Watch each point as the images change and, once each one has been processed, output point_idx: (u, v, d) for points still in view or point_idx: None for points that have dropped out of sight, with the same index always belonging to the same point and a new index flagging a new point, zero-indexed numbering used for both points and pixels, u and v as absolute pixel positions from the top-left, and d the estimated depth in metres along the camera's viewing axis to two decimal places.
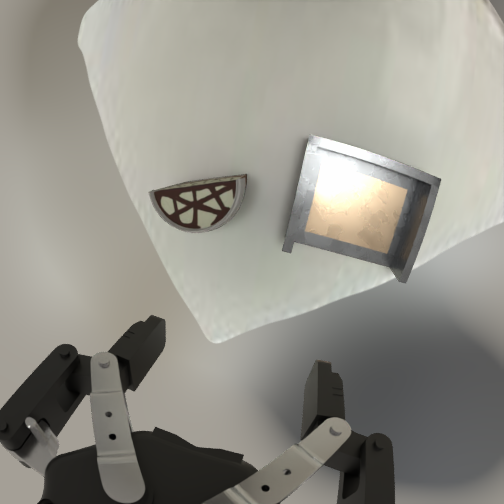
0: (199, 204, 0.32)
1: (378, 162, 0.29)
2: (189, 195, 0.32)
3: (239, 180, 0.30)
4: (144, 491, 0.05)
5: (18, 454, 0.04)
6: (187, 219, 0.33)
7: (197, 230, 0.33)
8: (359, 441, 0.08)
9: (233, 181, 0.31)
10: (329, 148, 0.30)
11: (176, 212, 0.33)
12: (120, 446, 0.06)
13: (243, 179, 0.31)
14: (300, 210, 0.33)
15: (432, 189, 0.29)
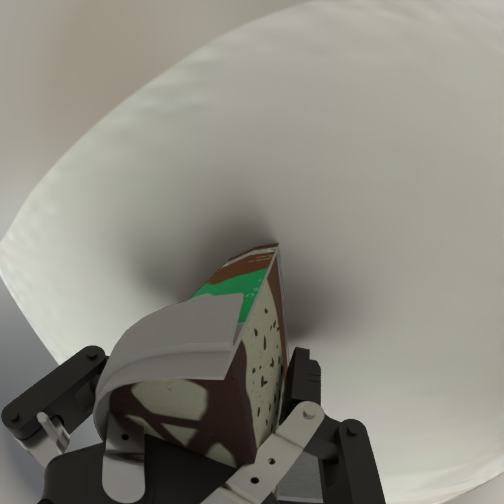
0: None
1: None
2: None
3: None
4: (143, 495, 0.04)
5: (24, 444, 0.05)
6: None
7: None
8: (334, 426, 0.09)
9: None
10: None
11: (149, 415, 0.07)
12: (130, 447, 0.06)
13: None
14: None
15: None
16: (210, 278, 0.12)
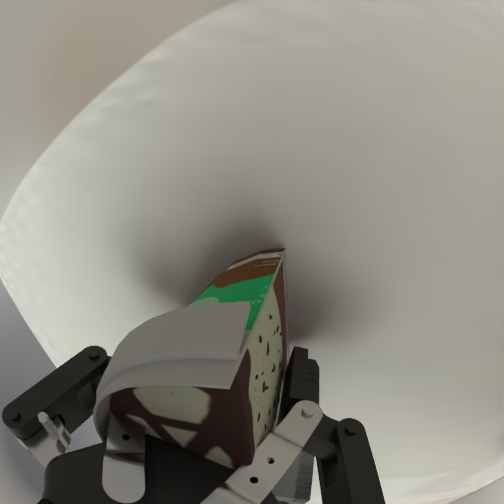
0: None
1: None
2: None
3: None
4: (143, 495, 0.04)
5: (25, 443, 0.05)
6: None
7: None
8: (332, 426, 0.09)
9: None
10: None
11: (149, 416, 0.07)
12: (131, 447, 0.06)
13: None
14: None
15: None
16: (215, 280, 0.12)
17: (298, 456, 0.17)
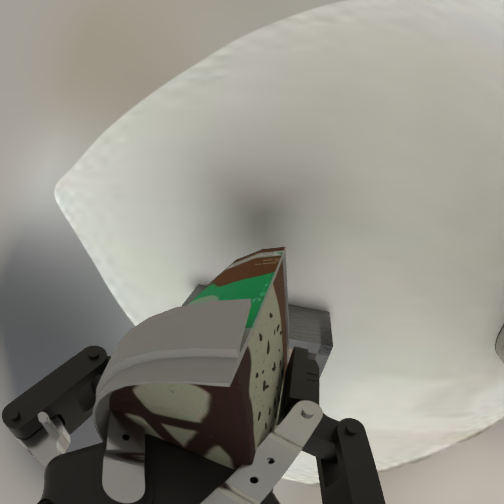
0: None
1: None
2: None
3: None
4: (143, 495, 0.04)
5: (25, 443, 0.05)
6: None
7: None
8: (332, 426, 0.09)
9: None
10: None
11: (149, 415, 0.07)
12: (131, 448, 0.06)
13: None
14: None
15: None
16: (215, 279, 0.12)
17: (318, 319, 0.28)
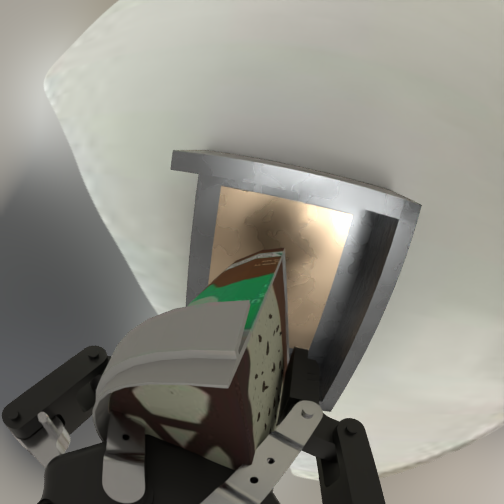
0: None
1: (363, 330, 0.17)
2: None
3: None
4: (143, 495, 0.04)
5: (25, 443, 0.05)
6: None
7: None
8: (332, 426, 0.09)
9: None
10: (394, 243, 0.15)
11: (149, 416, 0.07)
12: (130, 447, 0.06)
13: None
14: (263, 181, 0.15)
15: None
16: (215, 280, 0.12)
17: (383, 190, 0.18)
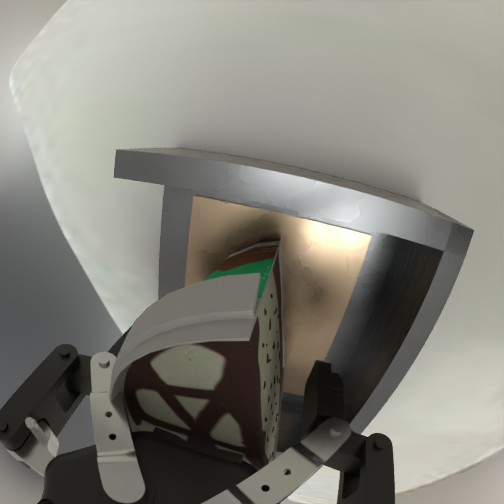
0: (202, 442, 0.09)
1: (379, 390, 0.12)
2: (230, 438, 0.08)
3: None
4: (144, 491, 0.05)
5: (18, 454, 0.04)
6: (149, 405, 0.08)
7: None
8: (359, 441, 0.08)
9: None
10: (434, 284, 0.09)
11: (164, 388, 0.08)
12: (120, 446, 0.06)
13: None
14: (242, 193, 0.10)
15: None
16: (218, 266, 0.13)
17: (414, 202, 0.12)
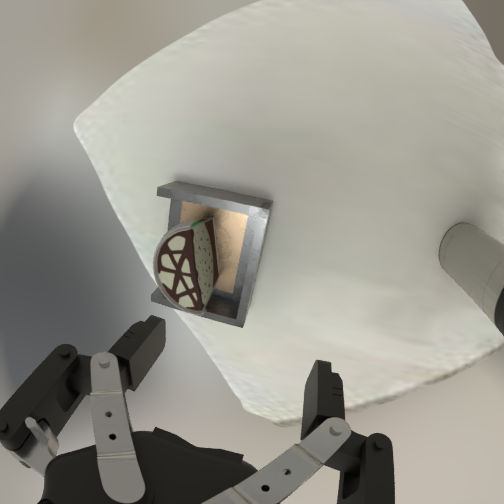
0: (179, 276, 0.34)
1: (248, 273, 0.37)
2: (186, 269, 0.33)
3: (201, 313, 0.35)
4: (144, 491, 0.05)
5: (18, 454, 0.04)
6: (164, 261, 0.33)
7: (155, 273, 0.33)
8: (359, 441, 0.08)
9: (201, 307, 0.35)
10: (256, 228, 0.35)
11: (170, 252, 0.33)
12: (120, 446, 0.06)
13: (204, 311, 0.36)
14: (195, 202, 0.35)
15: (232, 320, 0.40)
16: None
17: (262, 201, 0.37)
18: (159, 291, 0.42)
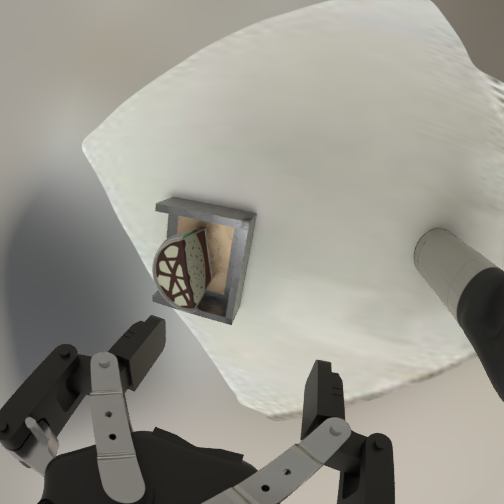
0: (174, 279, 0.40)
1: (234, 276, 0.43)
2: (180, 273, 0.39)
3: (193, 311, 0.41)
4: (144, 491, 0.05)
5: (18, 454, 0.04)
6: (162, 267, 0.39)
7: (154, 277, 0.40)
8: (359, 441, 0.08)
9: (193, 306, 0.41)
10: (239, 238, 0.40)
11: (166, 259, 0.39)
12: (120, 446, 0.06)
13: (196, 310, 0.42)
14: (187, 216, 0.41)
15: (222, 318, 0.46)
16: None
17: (246, 214, 0.43)
18: None
